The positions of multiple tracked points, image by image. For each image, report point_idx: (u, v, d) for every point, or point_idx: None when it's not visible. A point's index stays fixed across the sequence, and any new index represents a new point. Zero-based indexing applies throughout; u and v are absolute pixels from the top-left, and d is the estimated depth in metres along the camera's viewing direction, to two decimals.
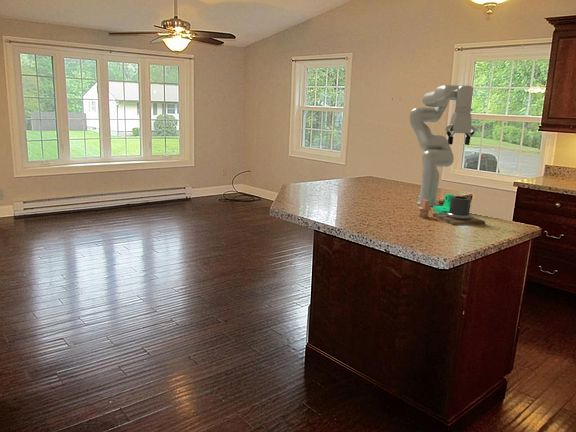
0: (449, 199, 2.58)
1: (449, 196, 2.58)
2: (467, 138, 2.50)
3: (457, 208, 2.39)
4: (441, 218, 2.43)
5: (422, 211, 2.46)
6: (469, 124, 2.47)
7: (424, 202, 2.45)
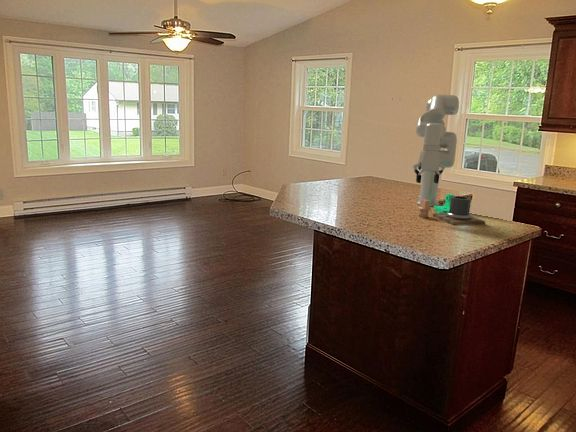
0: (450, 199, 2.58)
1: (450, 196, 2.58)
2: (436, 176, 2.44)
3: (457, 208, 2.39)
4: (441, 218, 2.43)
5: (422, 211, 2.46)
6: (437, 162, 2.41)
7: (424, 202, 2.45)
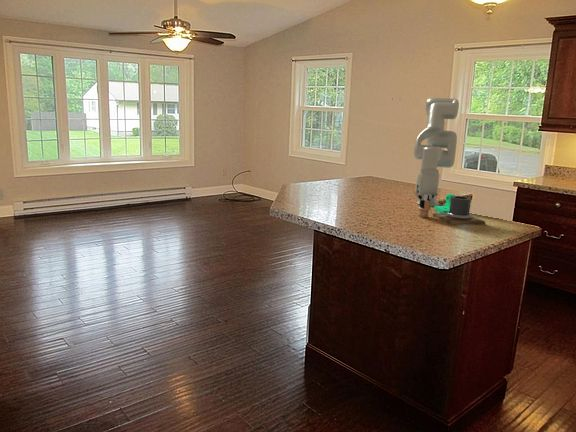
0: (450, 199, 2.58)
1: (450, 196, 2.58)
2: None
3: (457, 208, 2.39)
4: (441, 218, 2.43)
5: (422, 211, 2.46)
6: (435, 185, 2.44)
7: (424, 202, 2.45)
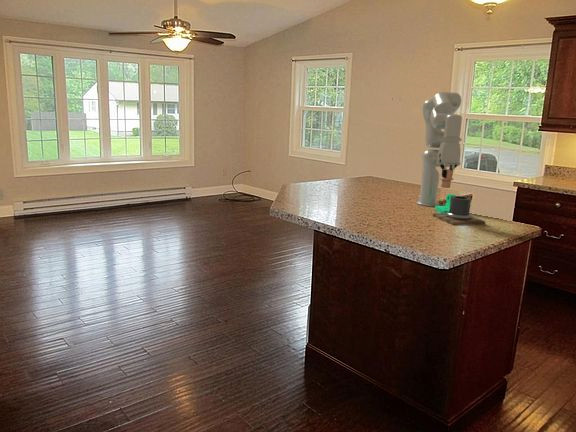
0: None
1: None
2: None
3: (457, 208, 2.39)
4: (441, 218, 2.43)
5: (444, 181, 2.40)
6: (458, 154, 2.38)
7: None
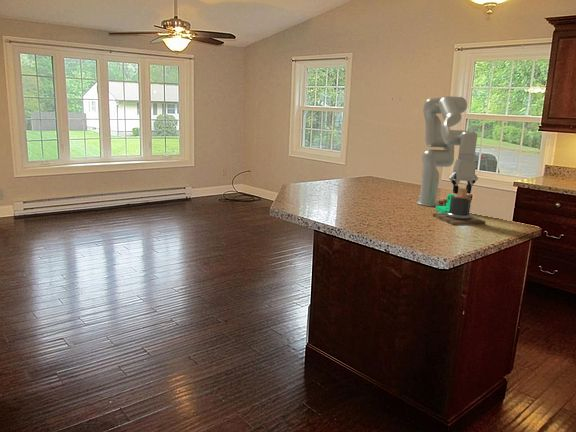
0: None
1: None
2: (468, 187, 2.41)
3: (457, 208, 2.39)
4: (441, 218, 2.43)
5: None
6: (473, 171, 2.38)
7: (461, 190, 2.39)
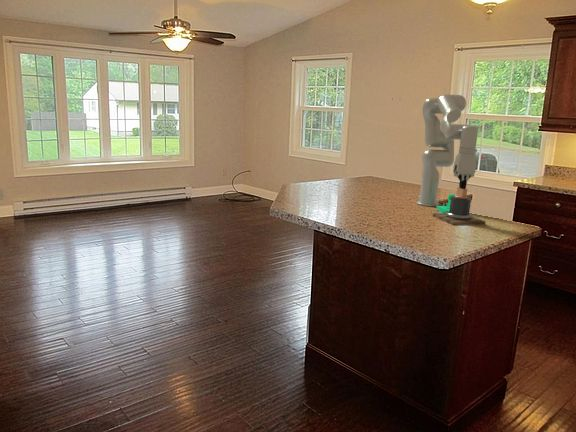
0: None
1: None
2: None
3: (457, 208, 2.39)
4: (441, 218, 2.43)
5: None
6: (474, 165, 2.37)
7: (461, 190, 2.39)
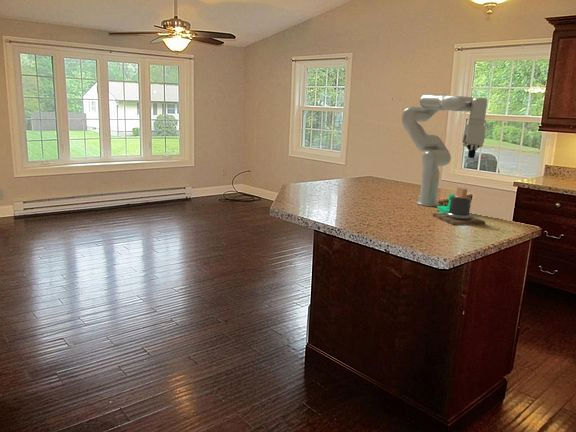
0: None
1: None
2: None
3: (457, 208, 2.39)
4: (441, 218, 2.43)
5: None
6: (482, 136, 2.51)
7: (461, 190, 2.39)
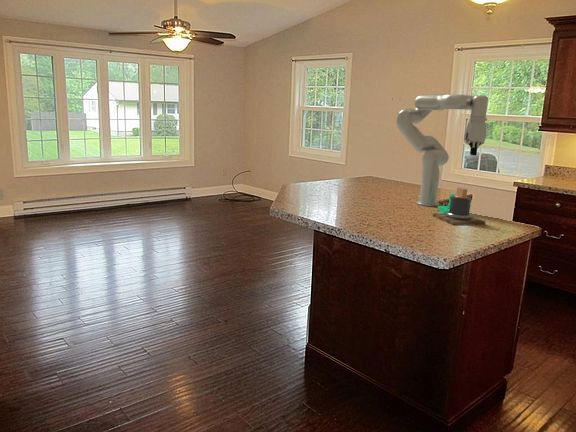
0: None
1: None
2: None
3: (457, 208, 2.39)
4: (441, 218, 2.43)
5: None
6: (484, 133, 2.54)
7: (461, 190, 2.39)
